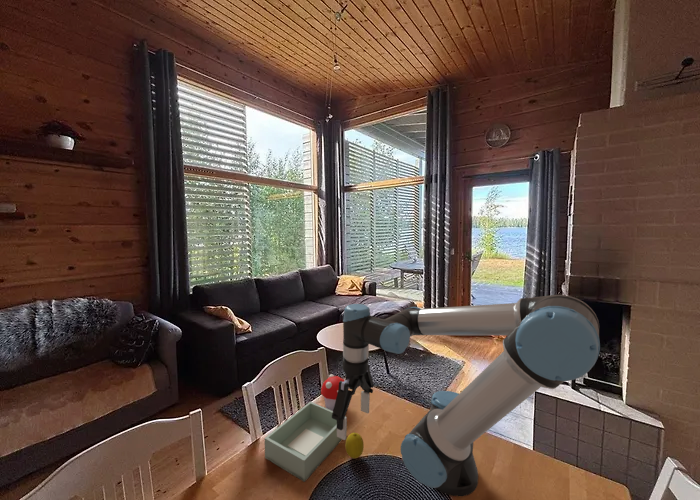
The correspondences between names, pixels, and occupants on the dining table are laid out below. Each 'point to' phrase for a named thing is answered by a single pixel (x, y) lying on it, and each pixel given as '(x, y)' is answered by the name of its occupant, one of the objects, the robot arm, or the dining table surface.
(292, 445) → the crate
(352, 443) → the lemon
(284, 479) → the dining table surface
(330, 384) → the mushroom
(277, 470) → the dining table surface
